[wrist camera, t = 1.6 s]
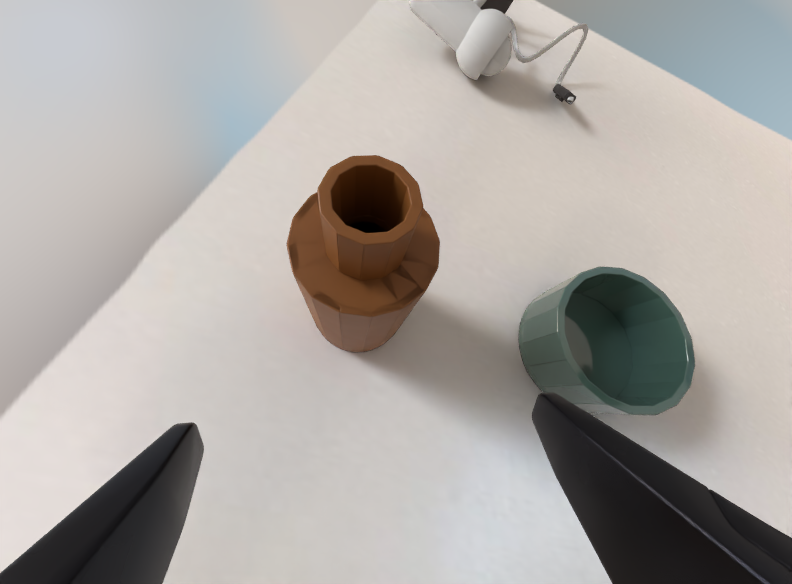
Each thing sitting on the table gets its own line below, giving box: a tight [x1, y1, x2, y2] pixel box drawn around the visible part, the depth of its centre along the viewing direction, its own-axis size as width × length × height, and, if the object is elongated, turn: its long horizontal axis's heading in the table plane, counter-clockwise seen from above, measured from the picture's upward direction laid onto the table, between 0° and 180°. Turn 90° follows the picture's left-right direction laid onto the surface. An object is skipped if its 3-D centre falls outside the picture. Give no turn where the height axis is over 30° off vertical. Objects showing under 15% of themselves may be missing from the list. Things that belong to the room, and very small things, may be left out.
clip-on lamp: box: [409, 0, 588, 104], centre depth 30 cm, size 12×6×18 cm
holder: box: [519, 267, 695, 415], centre depth 21 cm, size 9×9×5 cm
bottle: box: [287, 155, 440, 352], centre depth 16 cm, size 6×6×13 cm
